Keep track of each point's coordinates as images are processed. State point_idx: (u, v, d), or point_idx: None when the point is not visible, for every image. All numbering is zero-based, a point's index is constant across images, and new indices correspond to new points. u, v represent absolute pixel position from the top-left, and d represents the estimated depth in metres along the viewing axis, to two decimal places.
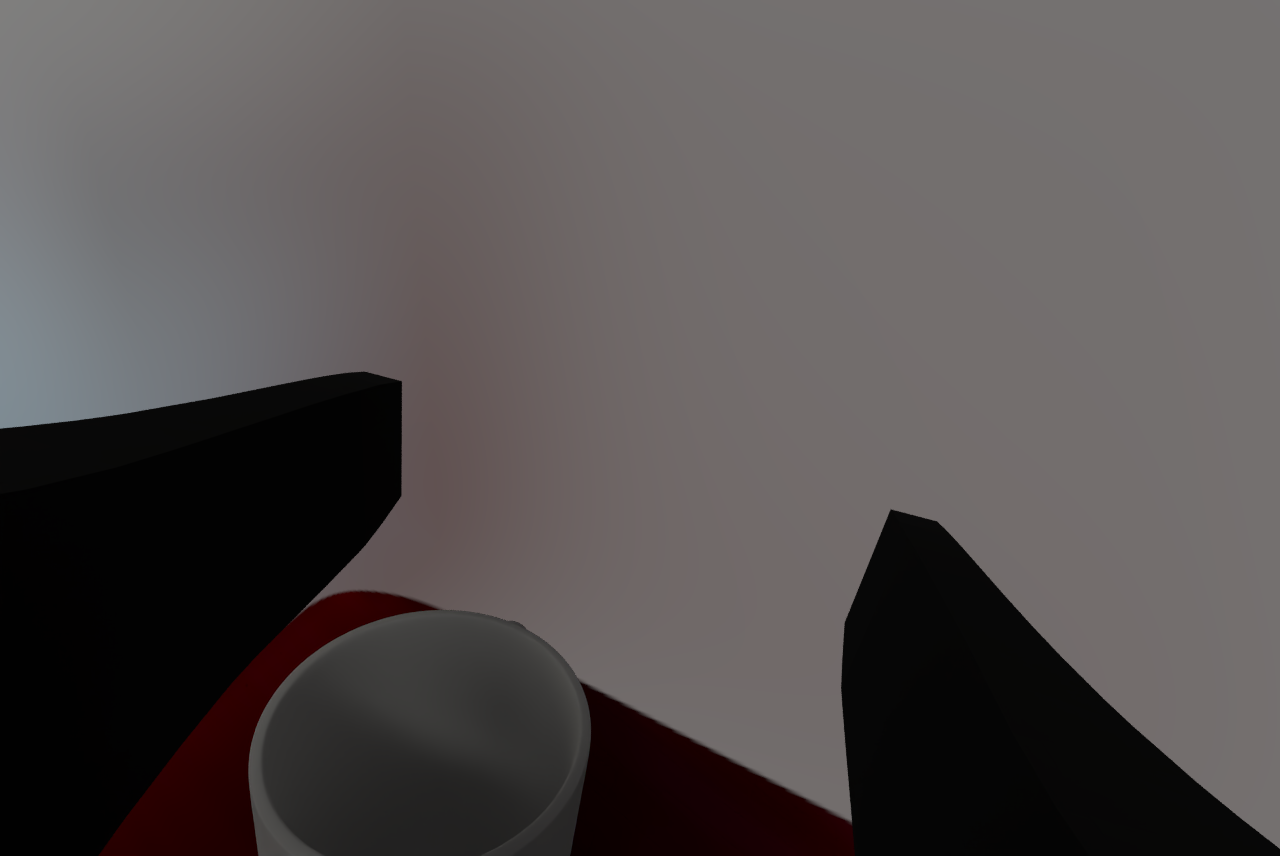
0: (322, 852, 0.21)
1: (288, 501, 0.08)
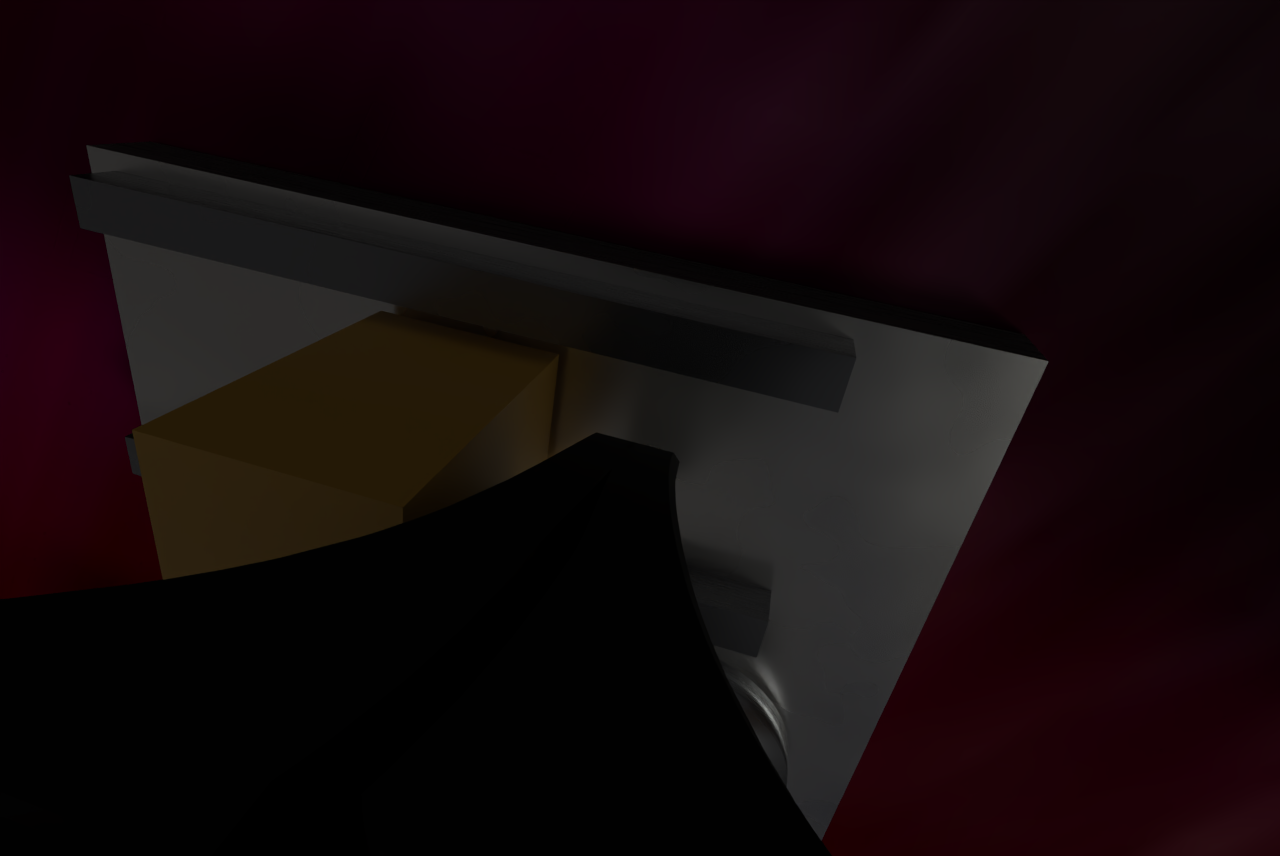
0: None
1: None
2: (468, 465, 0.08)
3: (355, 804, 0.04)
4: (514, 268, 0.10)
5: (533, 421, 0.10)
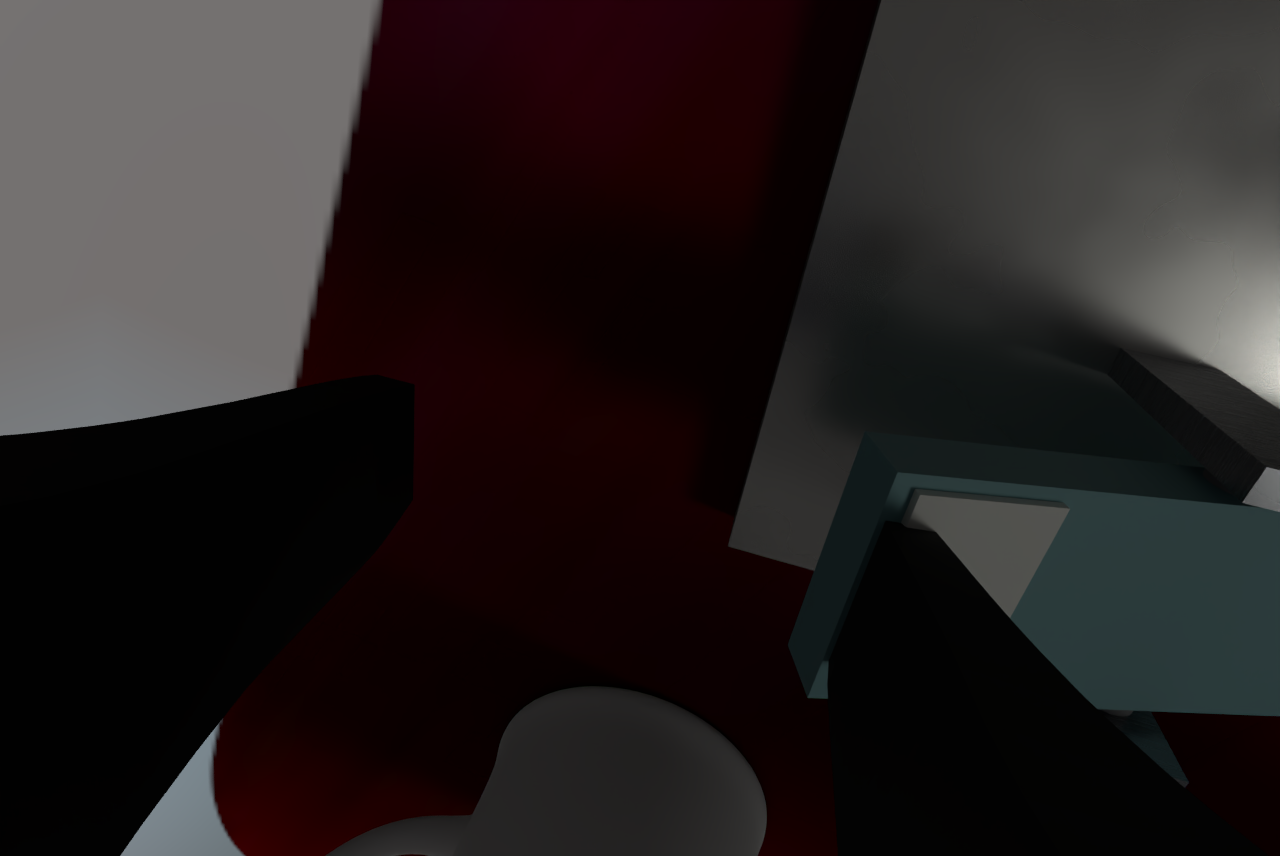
0: None
1: (302, 505, 0.08)
2: None
3: None
4: None
5: None
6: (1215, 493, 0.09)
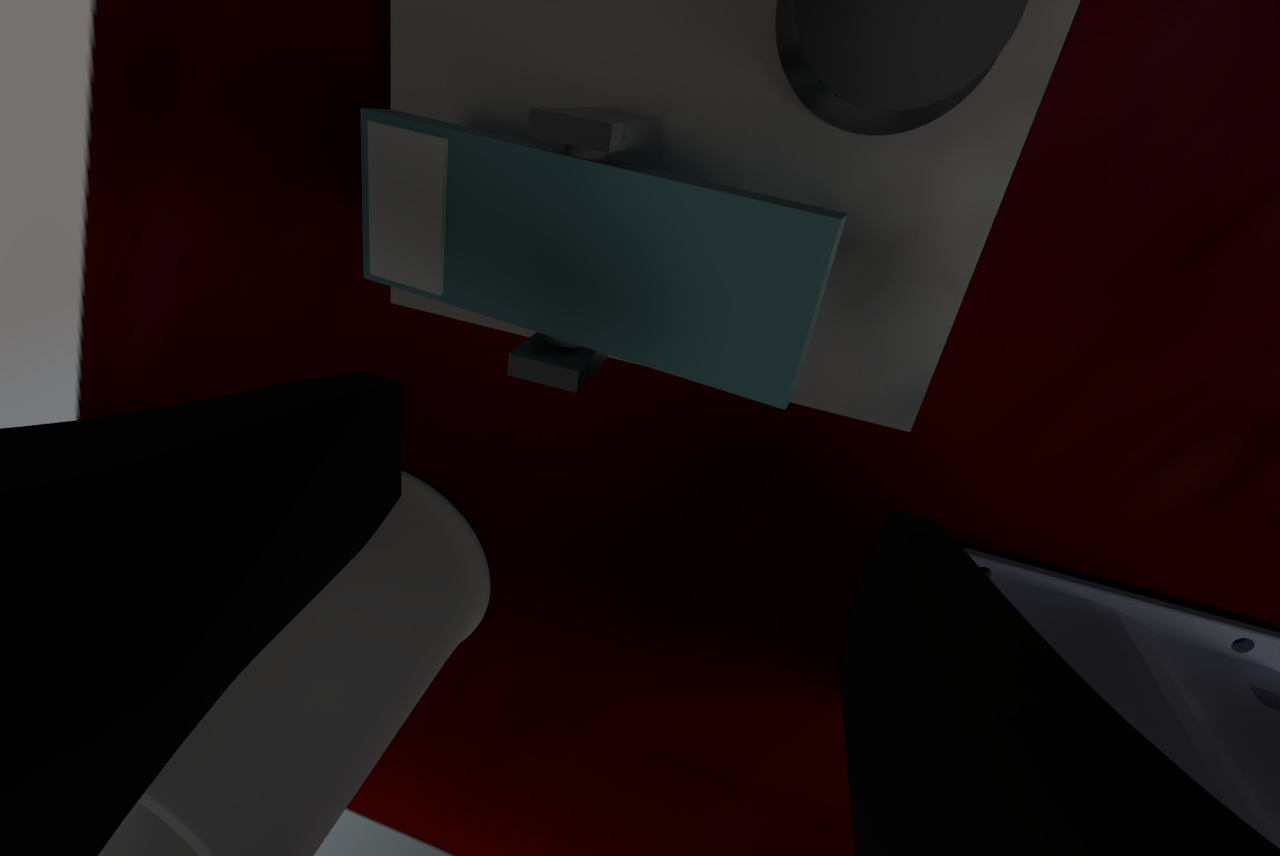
0: None
1: (286, 501, 0.08)
2: None
3: None
4: None
5: None
6: (552, 150, 0.14)
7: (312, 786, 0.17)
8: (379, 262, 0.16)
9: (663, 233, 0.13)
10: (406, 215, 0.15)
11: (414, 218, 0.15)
